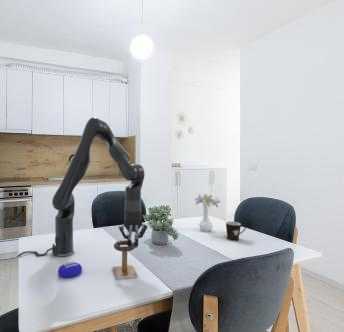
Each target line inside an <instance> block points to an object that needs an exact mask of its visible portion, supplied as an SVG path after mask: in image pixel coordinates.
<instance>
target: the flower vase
mask: <svg viewBox="0 0 344 332" xmlns="http://www.w3.org/2000/svg"><path fill="white" fill-rule="evenodd" d="M212 197H213V195H212V194H210V195H207V194H206V193H204V195H202V196H201V194H198V196H197V197H196V198H195V199H194V201H195V203H194V205H199V204H200V203H201V204H202V205H203V217H202V219H201V220H200V221H199V222H198V228H200V230H201V231H202V232H211V230H212V229H213V227H214V226H213V222H211V220H210V218H209V208H211V207H212V206H215V207H216V208H218V205H219V204H220V203H221V200H219V199H218V198H219V196H216V197H215V198H212Z"/></svg>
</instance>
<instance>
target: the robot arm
mask: <svg viewBox="0 0 344 332" xmlns="http://www.w3.org/2000/svg"><path fill="white" fill-rule="evenodd" d="M95 138H96V139H99V140H100V141H102V142H103V143H104V144H105V146H106V147H107V151H108V154H109V156H110V157H111V159H112V160H113V162H115V164H116V165H117V169H118V171H119V173H120V175H121V177H122V178H123V179H124V180H126V181H129V182H130V184H128V185H127V186H126V187H125V189H124V221H123V224H121V225H118V226H117V228H118V230H119V232H120V233H121V235H122V237H123V239H124V240H127V245H126V246H131V241H132V234H133V233H134V239H133V240H134V241H133V242H134V243H135V245H136V247H135V248H134V249H137V248H138V247H139V240H140V239H142V238H143V237H144V235H145V233H146V231H147V229H148V225H147V224H145V223H143V221H142V209H143V207H142V187H143V184H144V180H145V176H146V175H145V169H144V167H143V165H141V164H139V163H131V161H132V160H131V155H130V154H129V153H128V152H127V151H126V149H125V148H124V147H123V146H122V145H121V144H120V141H118V139H117V137H116V136H115V135H114V133H113V131H112V129H111V128H110V125H108V123H107V122H106V121H104V120H102V119H100V118H98V117H94V116H93V117H90V118H89V119H88V120H87V121H86V124H85V126H84V128H83V131H82V135H81V137H80V140H79V143H78V145H77V147H76V150H75V152H74V154H73V156H72V158H71V161H70V163H69V164H68V167H67V170H66V172H65V173H64V176H63V179H62V180H61V183H60V185H59V186H58V188H57V190H56V191H55V193H54V194H53V197H52V201H51V202H52V203H51V204H52V206H53V208H54V210H56V211H57V214H56V215H55V217H54V223H55V224H54V229H55V232H54V233H55V235H54V243H52V247H50V248H48V249H47V250H46V251H45V252H44V253H38V252H37V251H33V250H27V251H23V252H20V253H19V254H18V255H17V256H16V258H19V257H21V256H22V255H24V254H35V255H36V256H38V257H40V256H41V257H42V256H46V255H47V254H48V252H49V251H51V254H54V256H55V257H56V256H57V257H68V256H71V255H72V254H74V217H75V206H76V205H75V196H74V194H73V191H74V190H75V188H76V186H77V185H78V184H79V183H80V182H81V181H82V179H83V178H84V176H85V175H86V173H87V171H88V169H89V167H90V164H91V147H92V144H93V142H94V140H95ZM125 229H126V233H125Z"/></svg>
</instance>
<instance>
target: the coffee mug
mask: <svg viewBox="0 0 344 332" xmlns="http://www.w3.org/2000/svg"><path fill="white" fill-rule="evenodd" d="M241 227H243V228H244V229H243V230H242V231H241ZM225 228H226V229H225V230H226V238H227V239H226V240H229V241H233V242H238V241H239V239H240V235H241V234H243V233H244V232H245V231H246V225H244V224H242V223H240V222H237V221H230V220H229V221H225Z"/></svg>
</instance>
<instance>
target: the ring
mask: <svg viewBox="0 0 344 332" xmlns="http://www.w3.org/2000/svg"><path fill="white" fill-rule="evenodd" d="M135 247H136V245H135V243H134V241H133V240H131V246H128V245H127V239H124V240H119V241H116V242H115V243H114V244H113V248H114V250H116V251H118V252H121V253H122V252H127V253H128V252H131V251H134V250H135V249H136V248H135Z"/></svg>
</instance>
